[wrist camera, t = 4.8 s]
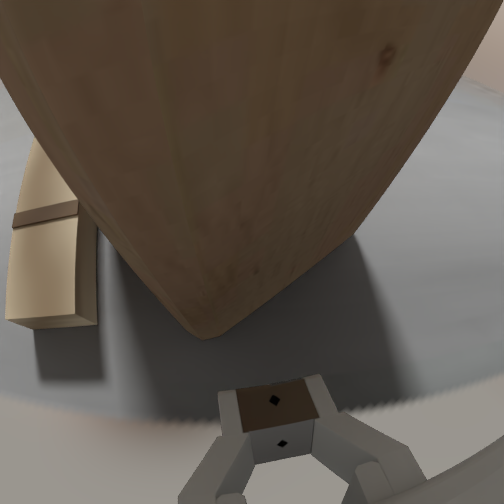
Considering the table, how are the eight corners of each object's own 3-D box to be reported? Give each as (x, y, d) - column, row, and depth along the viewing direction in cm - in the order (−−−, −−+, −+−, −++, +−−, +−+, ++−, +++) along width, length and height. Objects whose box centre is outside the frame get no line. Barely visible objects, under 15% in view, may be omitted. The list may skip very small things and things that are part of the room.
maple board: (120, 59, 22) (114, 35, 19) (97, 324, 14) (73, 313, 12) (76, 70, 21) (68, 47, 19) (32, 329, 14) (3, 318, 11)
